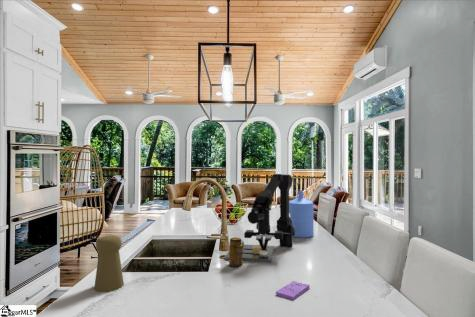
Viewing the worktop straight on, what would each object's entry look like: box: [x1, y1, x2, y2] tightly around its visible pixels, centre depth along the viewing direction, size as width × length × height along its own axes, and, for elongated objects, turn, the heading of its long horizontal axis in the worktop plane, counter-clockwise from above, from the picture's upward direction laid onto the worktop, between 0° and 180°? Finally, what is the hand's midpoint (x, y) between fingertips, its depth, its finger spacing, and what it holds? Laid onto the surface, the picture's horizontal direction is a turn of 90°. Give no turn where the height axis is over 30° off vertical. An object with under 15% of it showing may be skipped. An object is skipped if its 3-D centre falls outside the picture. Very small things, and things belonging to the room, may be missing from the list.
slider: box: [253, 246, 261, 254], centre depth 154 cm, size 4×3×3 cm
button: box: [259, 250, 268, 257], centre depth 148 cm, size 4×4×2 cm
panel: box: [224, 241, 276, 263], centre depth 158 cm, size 22×23×4 cm
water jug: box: [289, 190, 315, 239], centre depth 198 cm, size 16×16×28 cm
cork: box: [93, 234, 125, 293], centre depth 119 cm, size 10×10×19 cm
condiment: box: [225, 237, 247, 269], centre depth 142 cm, size 7×8×12 cm
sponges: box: [275, 280, 310, 301], centre depth 113 cm, size 7×13×2 cm, turn 141°
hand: (264, 251), depth 153 cm, fingers closed
